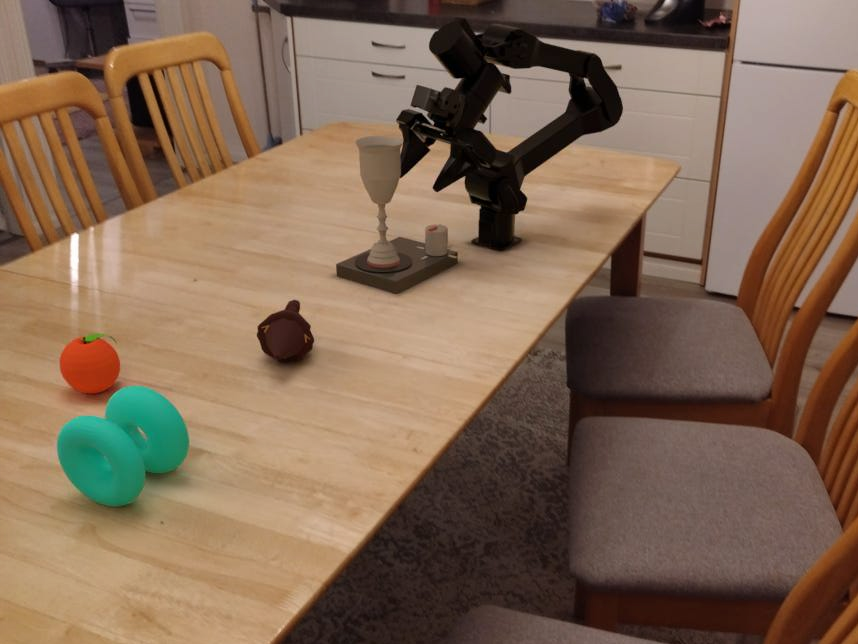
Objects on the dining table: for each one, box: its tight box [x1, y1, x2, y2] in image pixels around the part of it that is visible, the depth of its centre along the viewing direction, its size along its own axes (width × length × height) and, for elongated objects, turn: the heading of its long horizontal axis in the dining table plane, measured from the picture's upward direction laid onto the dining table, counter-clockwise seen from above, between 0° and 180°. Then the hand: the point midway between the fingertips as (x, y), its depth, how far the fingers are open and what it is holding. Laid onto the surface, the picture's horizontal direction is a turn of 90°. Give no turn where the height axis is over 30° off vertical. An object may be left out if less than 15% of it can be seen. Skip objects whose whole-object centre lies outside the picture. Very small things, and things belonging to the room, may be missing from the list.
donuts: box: [56, 385, 190, 507], centre depth 103 cm, size 10×10×10 cm
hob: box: [335, 236, 459, 295], centre depth 159 cm, size 17×13×2 cm
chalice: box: [355, 135, 403, 265], centre depth 152 cm, size 7×7×18 cm
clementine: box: [59, 333, 121, 394], centre depth 122 cm, size 8×7×7 cm
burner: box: [355, 252, 412, 273], centre depth 156 cm, size 9×9×1 cm
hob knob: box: [424, 224, 449, 256], centre depth 159 cm, size 4×4×4 cm
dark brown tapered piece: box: [256, 299, 315, 363], centre depth 130 cm, size 7×7×15 cm
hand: (416, 183), depth 154 cm, fingers open, 9 cm apart
